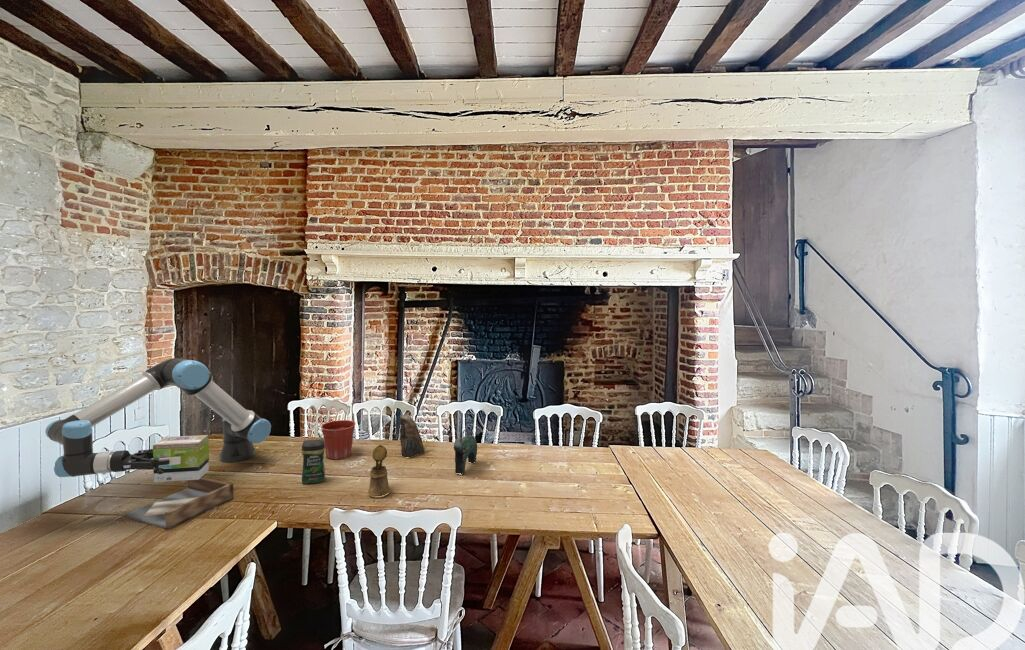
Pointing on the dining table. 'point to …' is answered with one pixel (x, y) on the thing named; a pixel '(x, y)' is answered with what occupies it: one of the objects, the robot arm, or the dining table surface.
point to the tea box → (182, 458)
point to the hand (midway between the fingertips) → (185, 454)
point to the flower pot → (338, 438)
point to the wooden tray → (184, 503)
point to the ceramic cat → (464, 451)
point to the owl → (410, 437)
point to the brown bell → (378, 474)
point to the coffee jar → (313, 461)
